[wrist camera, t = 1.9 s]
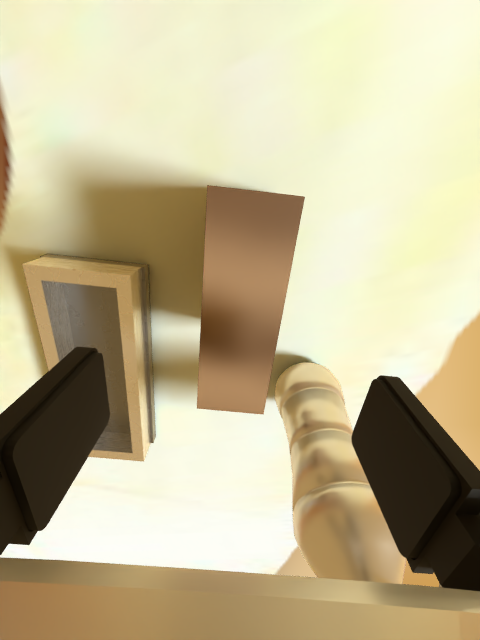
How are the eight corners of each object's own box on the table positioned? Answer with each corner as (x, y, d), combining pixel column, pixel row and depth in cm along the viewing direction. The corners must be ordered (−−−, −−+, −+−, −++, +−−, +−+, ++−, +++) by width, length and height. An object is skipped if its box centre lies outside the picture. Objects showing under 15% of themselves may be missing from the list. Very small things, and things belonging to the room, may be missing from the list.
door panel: (225, 187, 22) (206, 185, 11) (275, 193, 22) (306, 196, 11) (215, 320, 27) (196, 408, 16) (256, 324, 27) (264, 414, 16)
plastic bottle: (329, 401, 31) (446, 691, 13) (271, 401, 31) (306, 688, 13) (337, 353, 28) (500, 640, 10) (273, 354, 28) (321, 636, 10)
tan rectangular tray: (47, 253, 24) (18, 263, 21) (148, 264, 25) (134, 275, 21) (83, 430, 34) (66, 454, 31) (155, 436, 34) (146, 461, 31)
